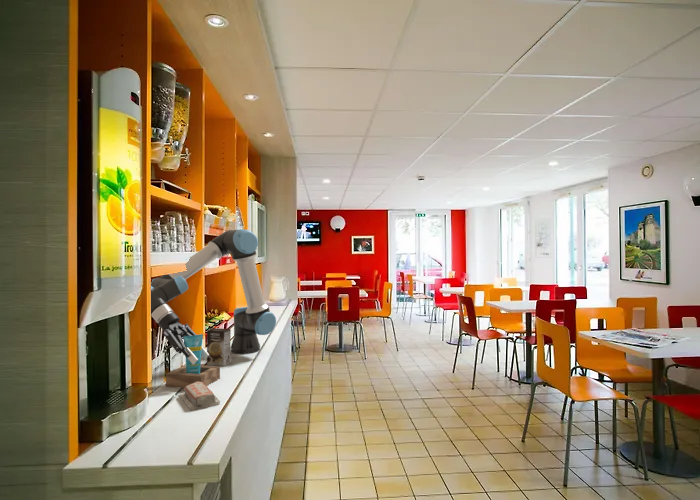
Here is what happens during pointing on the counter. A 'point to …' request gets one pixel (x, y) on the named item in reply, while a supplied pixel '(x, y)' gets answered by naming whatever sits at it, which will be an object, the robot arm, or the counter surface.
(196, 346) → the tube
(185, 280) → the robot arm
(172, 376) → the collar
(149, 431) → the counter surface
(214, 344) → the coffee box
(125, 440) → the counter surface
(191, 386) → the packaged product
